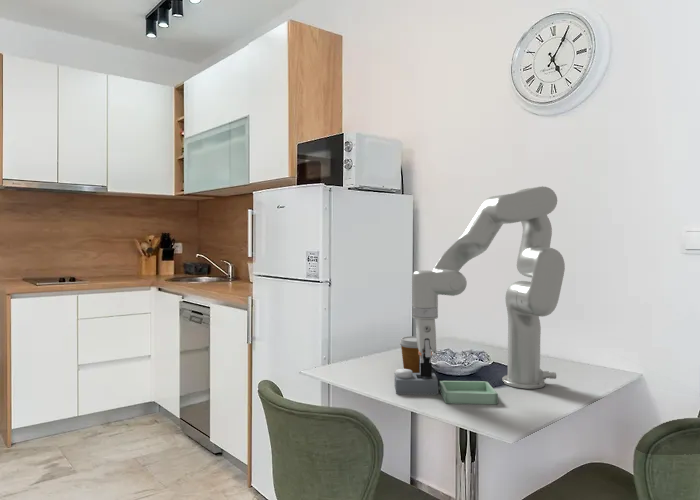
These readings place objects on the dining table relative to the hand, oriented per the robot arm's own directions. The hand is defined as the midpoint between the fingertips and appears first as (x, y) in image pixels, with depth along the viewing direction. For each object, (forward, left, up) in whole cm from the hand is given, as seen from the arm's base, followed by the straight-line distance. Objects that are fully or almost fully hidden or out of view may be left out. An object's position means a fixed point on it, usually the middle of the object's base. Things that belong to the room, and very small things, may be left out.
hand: (425, 373), depth 152 cm
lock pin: (0, 0, -4) cm, 4 cm away
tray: (-11, +6, -5) cm, 14 cm away
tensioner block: (+3, 0, -5) cm, 6 cm away
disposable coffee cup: (+2, -16, -5) cm, 17 cm away
